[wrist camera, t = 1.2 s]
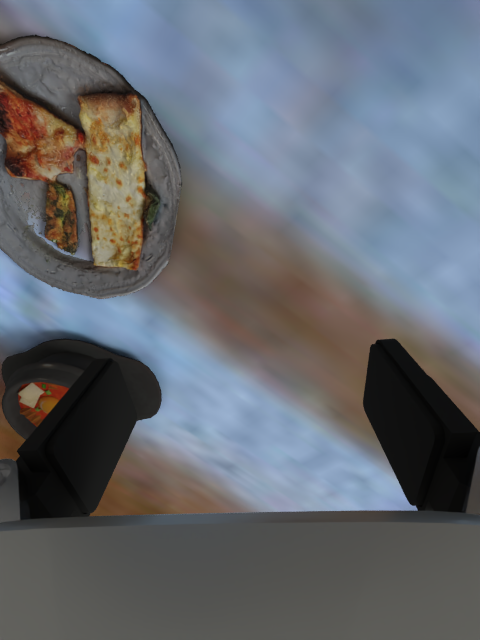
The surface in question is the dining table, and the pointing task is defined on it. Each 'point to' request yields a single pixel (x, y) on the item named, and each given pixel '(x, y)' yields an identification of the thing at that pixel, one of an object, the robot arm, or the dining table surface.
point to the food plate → (83, 170)
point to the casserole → (65, 381)
